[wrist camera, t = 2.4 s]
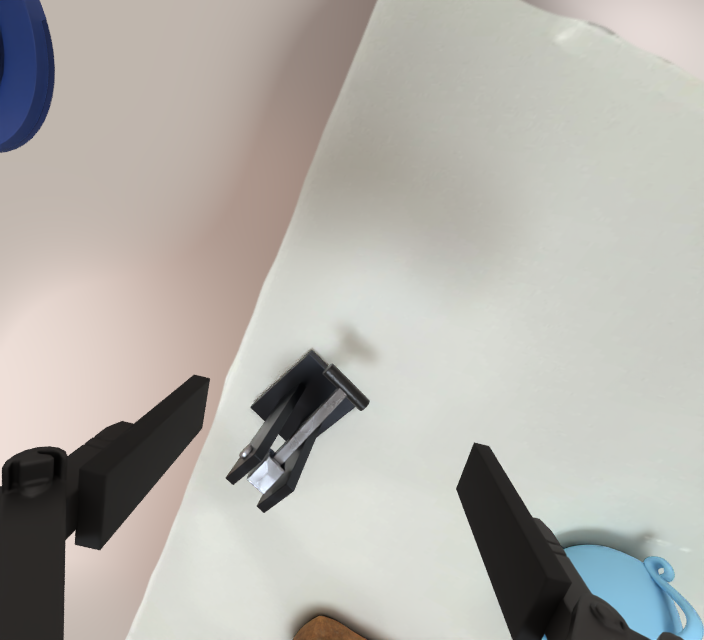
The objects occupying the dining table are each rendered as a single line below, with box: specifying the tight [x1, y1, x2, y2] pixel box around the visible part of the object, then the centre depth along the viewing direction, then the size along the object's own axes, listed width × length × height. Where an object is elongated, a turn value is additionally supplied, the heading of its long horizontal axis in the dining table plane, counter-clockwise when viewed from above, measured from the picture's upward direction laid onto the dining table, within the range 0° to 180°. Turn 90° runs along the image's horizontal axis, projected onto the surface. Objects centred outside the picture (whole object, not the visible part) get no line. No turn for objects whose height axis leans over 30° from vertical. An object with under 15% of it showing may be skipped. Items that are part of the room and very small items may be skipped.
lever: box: [247, 364, 370, 494], centre depth 33 cm, size 13×6×2 cm, turn 135°
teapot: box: [542, 545, 704, 640], centre depth 40 cm, size 20×20×13 cm
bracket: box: [226, 350, 356, 513], centre depth 38 cm, size 12×9×15 cm
